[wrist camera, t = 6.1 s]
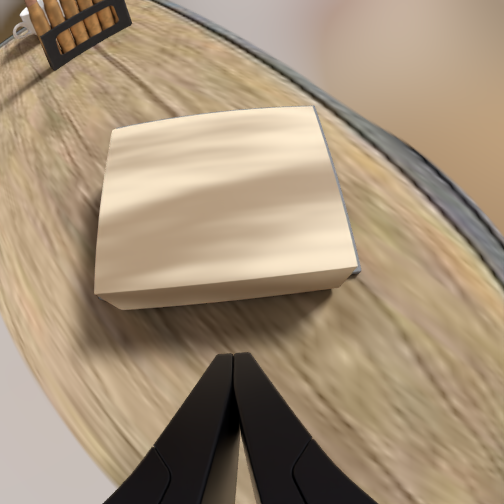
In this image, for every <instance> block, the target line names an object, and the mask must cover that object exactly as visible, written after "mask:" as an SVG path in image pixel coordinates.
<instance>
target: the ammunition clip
mask: <svg viewBox="0 0 504 504" xmlns="http://www.w3.org/2000/svg"><path fill="white" fill-rule="evenodd" d="M59 2H60V5H61V7H62V10H63V13H64V15H65V17H64V16H63V13H62V11H61V8H60V6H59V3H58V1H57V0H43V3H44V9H45V12H46V14H47V17H48V19H49V22H50V24H51V25H49V23H48V20H47V18H46V16H45V13H44V11H43V10H42V8H41V7H40V5H39V3H38V1H37V0H25V3H26V6H27V9H28V12H29V17H30V20H31V23H32V25H33V27H34V29H35V31H36V34H37V36H38V38H39V40H40V43H41V45H42V48H43V50H44V53H45V55H46V57H47V60H48V62H49V65H50V67H51V68H52V69H53V70H55V71H56V70H57V69H58V68H60V67H61V66H63V65H64V64H66V63H67V62H69V61H70V60H72V59H73V58H75V57H76V56H78V55H79V54H81V53H83V52H84V51H86V50H87V49H89V48H91V47H92V46H94V45H96V44H97V43H99V42H101V41H103V40H104V39H106V38H108V37H110V36H111V35H113V34H115V33H117V32H119V31H121V30H123V29H124V28H126V27H128V26H130V25H131V24H132V22H131V19H130V16H129V13H128V10H127V7H126V4H125V1H124V0H76V1H75V0H59ZM76 2H77V4H76ZM77 5H78V7H77ZM78 8H79V9H78ZM83 22H84V23H83ZM84 25H85V26H84ZM69 28H70V31H71V33H72V35H71V33H70V31H69ZM72 36H73V38H74V40H73V38H72ZM56 38H57V41H58V43H59V45H60V47H61V49H60V47H59V45H58V43H57V41H56Z"/></svg>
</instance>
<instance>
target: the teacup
mask: <svg viewBox="0 0 504 504" xmlns="http://www.w3.org/2000/svg"><path fill="white" fill-rule="evenodd" d="M37 1H38V3H39V5H40V7H41V8H42V10H43V11H44V13H45V16H46V18H47V20H48V23H49V25H51V24H50V22H49V19H48V17H47V14H46V12H45V9H44V3H43V0H37ZM57 1H58V3H59V6H60V8H61V11H62V13H63V10H62V7H61V5H60V2H59V0H57ZM20 16H21V18H22V20H23V22H21V23H19V24H17V25H16V26H15V28H14V30H13V35H14V37H15V38H18V39H21V38H25V37H28V36H30V35H32V34H35V35H37V34H36V31H35V29H34V27H33V25H32V23H31V20H30V17H29V12H28V9H27V7H26V8H25V9H24V10H23V11H22V12H21V14H20ZM63 16H64V17H65V15H64V13H63ZM19 26H24V27H26V28H27V29H28V33H26V34H25V35H23V36H17V34H16V29H17V28H18V27H19Z"/></svg>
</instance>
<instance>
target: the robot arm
mask: <svg viewBox="0 0 504 504" xmlns="http://www.w3.org/2000/svg"><path fill="white" fill-rule="evenodd" d="M240 431H241V437H242V442H243V447H244V451H245V456H246V460H247V465H248V469H249V474H250V478H251V482H252V487H253V491H254V495H255V499H256V503H257V504H378V503H377V502H376V501H375V500H373V499H372V498H371V497H370V496H369V495H368V494H366V493H365V492H364V491H363V490H362V489H361V488H359V487H358V486H357V485H356V484H355V483H354V482H353V481H352V480H350V479H349V478H348V477H347V476H346V475H345V474H344V473H343V472H342V471H341V470H340V469H339V468H338V467H337V466H336V465H335V464H334V463H333V461H332V460H331V459H330V458H329V457H328V456H327V454H326V453H325V452H324V451H323V450H322V448H321V447H320V446H319V445H318V443H317V442H316V441H315V440H314V439H312V436H311V435H310V433H309V432H308V431H307V429H306V428H305V427H304V425H303V424H302V423H301V422H300V420H299V419H298V418H297V416H296V415H295V414H294V412H293V411H292V410H291V408H290V407H289V406H288V404H287V403H286V402H285V400H284V399H283V397H282V396H281V395H280V393H279V392H278V391H277V389H276V388H275V387H274V385H273V384H272V382H271V381H270V380H269V378H268V377H267V375H266V374H265V373H264V371H263V370H262V369H261V367H260V366H259V364H258V363H257V361H256V360H255V359H254V357H253V356H252V354H251V353H249V352H243V353H235V354H234V356H233V354H231V353H229V354H218V355H216V357H215V358H214V360H213V361H212V362H211V364H210V365H209V367H208V368H207V370H206V371H205V373H204V374H203V375H202V377H201V378H200V380H199V381H198V383H197V384H196V386H195V387H194V388H193V390H192V391H191V393H190V394H189V396H188V397H187V398H186V400H185V401H184V403H183V404H182V406H181V407H180V408H179V410H178V411H177V413H176V414H175V416H174V417H173V418H172V420H171V421H170V423H169V424H168V425H167V427H166V428H165V430H164V431H163V432H162V434H161V435H160V437H159V438H158V439H157V441H156V442H155V444H154V447H151V449H150V450H149V452H148V453H147V454H146V456H145V457H144V458H143V460H142V461H141V462H140V464H139V465H138V466H137V467H136V469H135V470H134V471H133V472H132V474H131V475H130V476H129V477H128V478H127V479H126V480H125V481H124V482H123V483H122V485H121V486H120V487H119V488H118V489H117V490H116V491H115V492H114V493H113V494H112V495H111V496H110V497H109V498H108V499H107V500H106V501H105V502H104V503H103V504H235V495H236V482H237V470H238V457H239V444H240Z"/></svg>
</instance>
